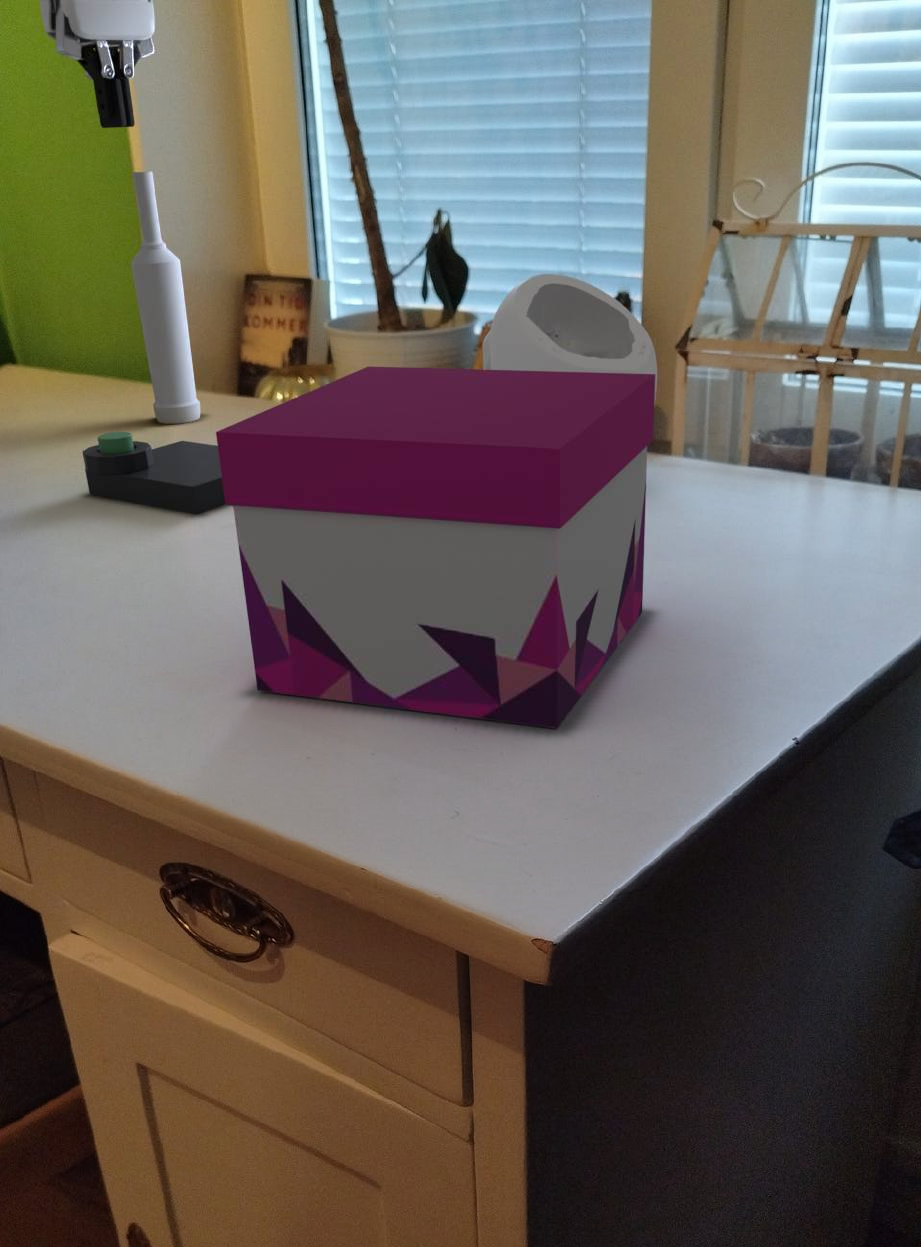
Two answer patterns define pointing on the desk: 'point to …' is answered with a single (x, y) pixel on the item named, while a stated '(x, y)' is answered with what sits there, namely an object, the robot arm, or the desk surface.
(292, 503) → the decorative box
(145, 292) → the bottle
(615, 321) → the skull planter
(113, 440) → the button
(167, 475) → the black push button box
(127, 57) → the robot arm
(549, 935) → the desk surface
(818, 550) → the desk surface
